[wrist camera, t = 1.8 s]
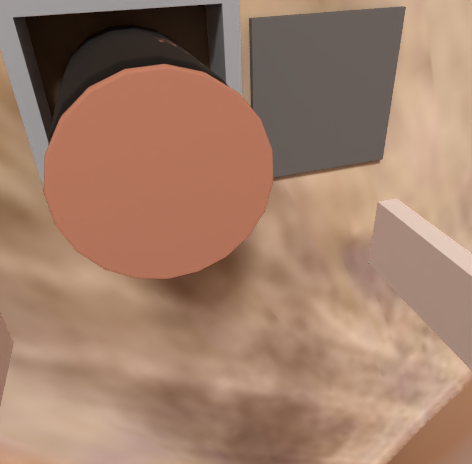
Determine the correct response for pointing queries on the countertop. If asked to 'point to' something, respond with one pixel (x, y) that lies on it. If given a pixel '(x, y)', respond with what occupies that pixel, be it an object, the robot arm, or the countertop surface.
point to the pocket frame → (51, 3)
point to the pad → (324, 85)
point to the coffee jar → (153, 157)
